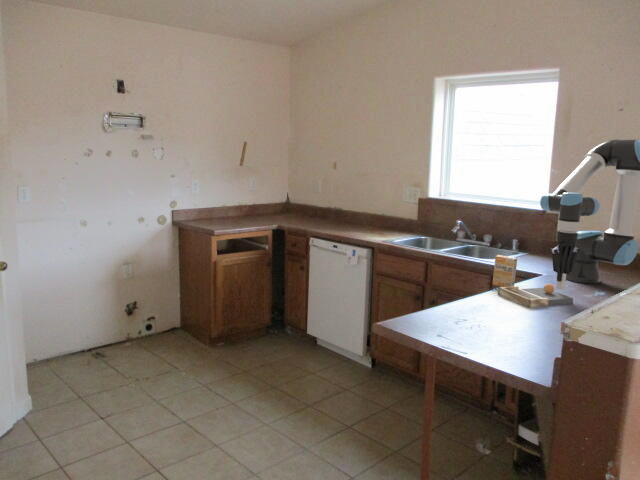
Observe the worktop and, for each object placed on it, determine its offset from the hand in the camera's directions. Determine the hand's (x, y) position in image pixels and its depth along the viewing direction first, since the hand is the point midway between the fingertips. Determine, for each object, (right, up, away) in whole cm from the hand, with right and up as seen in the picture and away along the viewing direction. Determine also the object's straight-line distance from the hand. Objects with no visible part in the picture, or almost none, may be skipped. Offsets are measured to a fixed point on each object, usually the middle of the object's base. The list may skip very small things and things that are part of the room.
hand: (560, 288), depth 213 cm
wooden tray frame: (-18, -4, -5) cm, 19 cm away
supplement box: (-18, 0, +16) cm, 24 cm away
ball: (-6, -2, -2) cm, 6 cm away
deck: (-7, -4, -2) cm, 8 cm away
